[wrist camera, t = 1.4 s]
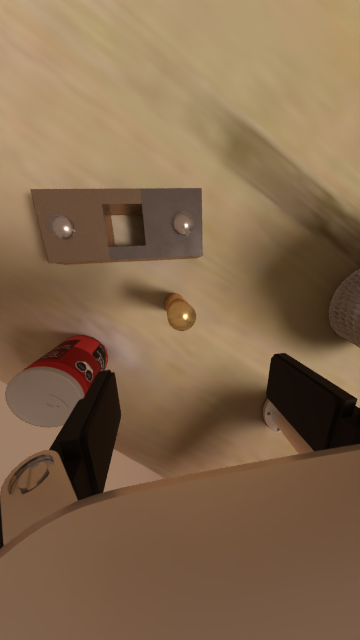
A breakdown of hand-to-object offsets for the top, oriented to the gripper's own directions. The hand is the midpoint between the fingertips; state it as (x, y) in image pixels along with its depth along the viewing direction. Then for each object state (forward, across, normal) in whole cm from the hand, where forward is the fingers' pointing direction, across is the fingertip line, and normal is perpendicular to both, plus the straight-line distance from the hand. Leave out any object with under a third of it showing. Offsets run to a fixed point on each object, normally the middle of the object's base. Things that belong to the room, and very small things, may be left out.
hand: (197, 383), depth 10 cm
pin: (+20, -1, -1) cm, 20 cm away
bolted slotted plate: (+20, +5, -12) cm, 24 cm away
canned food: (+20, +15, +7) cm, 26 cm away
